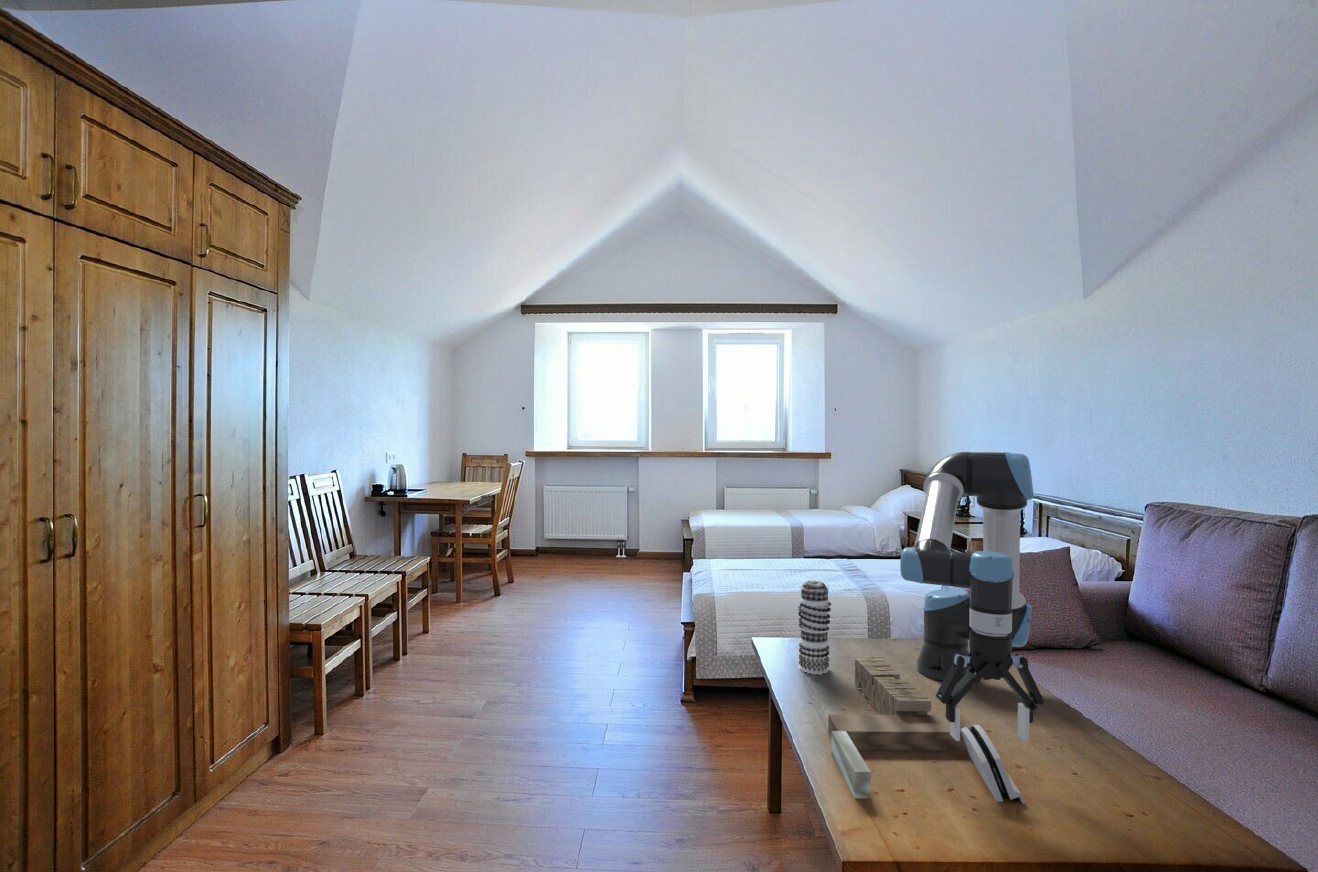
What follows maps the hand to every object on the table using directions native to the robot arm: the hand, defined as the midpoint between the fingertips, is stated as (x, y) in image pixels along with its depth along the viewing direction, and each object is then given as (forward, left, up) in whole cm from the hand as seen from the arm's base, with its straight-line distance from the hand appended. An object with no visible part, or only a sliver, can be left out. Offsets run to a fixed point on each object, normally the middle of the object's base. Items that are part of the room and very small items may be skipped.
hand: (988, 738), depth 126 cm
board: (+13, -6, -8) cm, 16 cm away
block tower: (+8, -33, -9) cm, 35 cm away
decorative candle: (+21, -57, -8) cm, 61 cm away
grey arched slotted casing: (0, 0, -8) cm, 8 cm away
